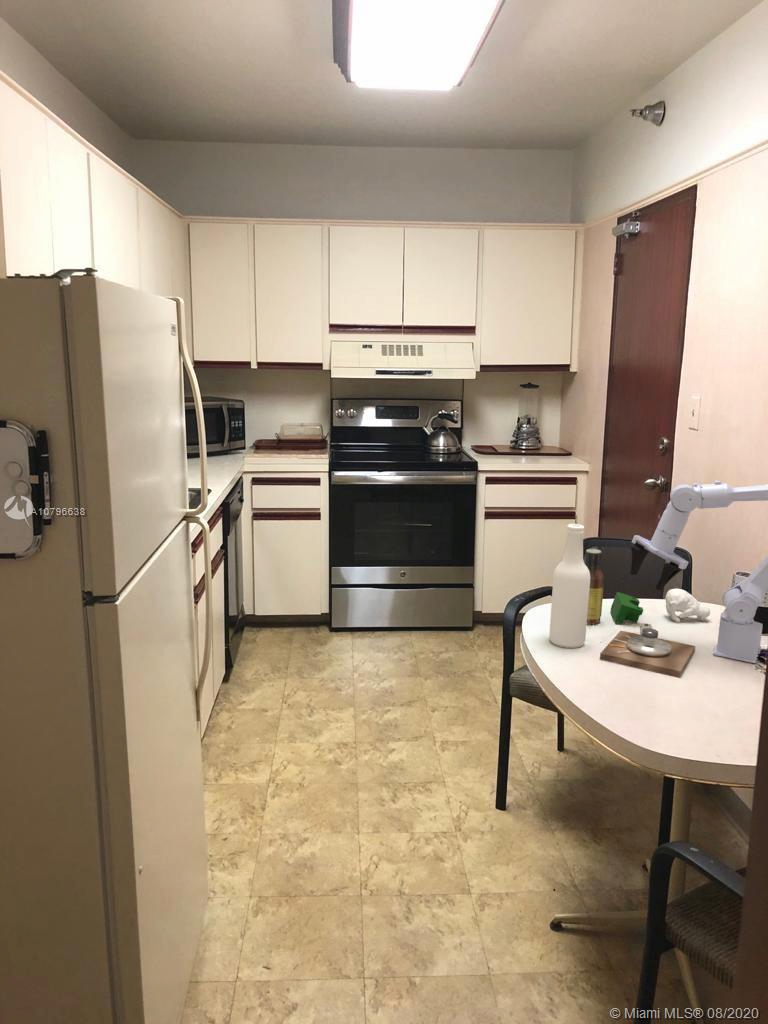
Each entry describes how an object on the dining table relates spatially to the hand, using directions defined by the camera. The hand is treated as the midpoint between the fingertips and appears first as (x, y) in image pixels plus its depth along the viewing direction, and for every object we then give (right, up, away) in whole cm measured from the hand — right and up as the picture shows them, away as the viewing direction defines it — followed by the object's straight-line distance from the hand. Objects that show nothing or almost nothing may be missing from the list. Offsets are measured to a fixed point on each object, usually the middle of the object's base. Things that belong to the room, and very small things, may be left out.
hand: (645, 581), depth 185 cm
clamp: (+1, -12, +20) cm, 23 cm away
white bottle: (-19, -16, +2) cm, 25 cm away
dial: (-1, -15, -4) cm, 16 cm away
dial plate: (-1, -17, -5) cm, 18 cm away
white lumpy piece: (+18, -13, +20) cm, 30 cm away
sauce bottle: (-10, -13, +17) cm, 23 cm away
